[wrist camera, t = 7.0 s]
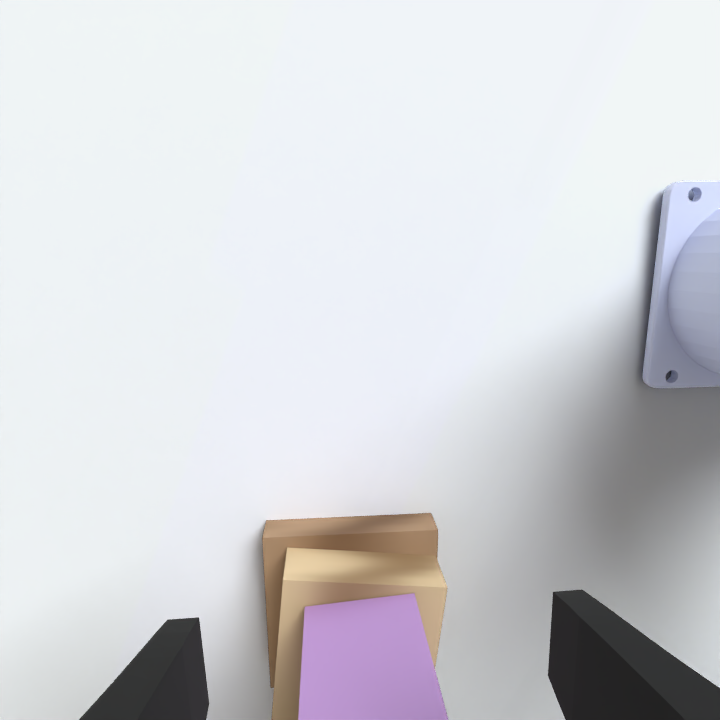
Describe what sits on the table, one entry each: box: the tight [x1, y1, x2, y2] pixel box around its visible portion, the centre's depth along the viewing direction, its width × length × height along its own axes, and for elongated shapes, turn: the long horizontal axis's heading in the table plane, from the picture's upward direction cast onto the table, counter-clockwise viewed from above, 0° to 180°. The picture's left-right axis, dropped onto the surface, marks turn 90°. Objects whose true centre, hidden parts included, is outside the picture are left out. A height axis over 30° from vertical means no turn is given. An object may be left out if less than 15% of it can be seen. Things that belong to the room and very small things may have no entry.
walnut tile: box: [262, 513, 438, 688], centre depth 21 cm, size 7×7×2 cm
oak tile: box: [271, 548, 447, 720], centre depth 19 cm, size 6×6×2 cm
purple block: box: [298, 593, 448, 720], centre depth 15 cm, size 4×4×6 cm
